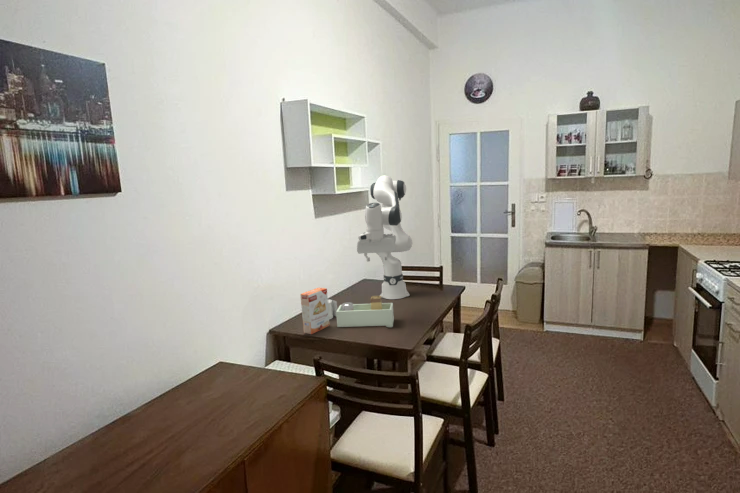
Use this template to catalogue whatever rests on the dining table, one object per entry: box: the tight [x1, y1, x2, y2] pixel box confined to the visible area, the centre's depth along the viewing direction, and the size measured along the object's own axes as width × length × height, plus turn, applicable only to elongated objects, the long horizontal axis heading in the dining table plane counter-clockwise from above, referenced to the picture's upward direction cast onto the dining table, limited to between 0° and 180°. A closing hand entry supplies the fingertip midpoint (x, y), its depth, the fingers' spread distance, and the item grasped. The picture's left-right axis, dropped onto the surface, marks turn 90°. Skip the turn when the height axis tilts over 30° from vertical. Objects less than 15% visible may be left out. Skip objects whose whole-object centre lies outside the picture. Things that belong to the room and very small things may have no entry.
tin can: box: [341, 302, 354, 311], centre depth 228 cm, size 6×6×10 cm
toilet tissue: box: [328, 299, 338, 321], centre depth 240 cm, size 11×12×10 cm
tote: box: [335, 302, 395, 328], centre depth 227 cm, size 12×28×9 cm, turn 84°
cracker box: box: [300, 287, 330, 335], centre depth 221 cm, size 14×6×21 cm, turn 145°
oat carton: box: [370, 295, 383, 310], centre depth 226 cm, size 5×5×13 cm
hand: (377, 260), depth 230 cm, fingers open, 8 cm apart
